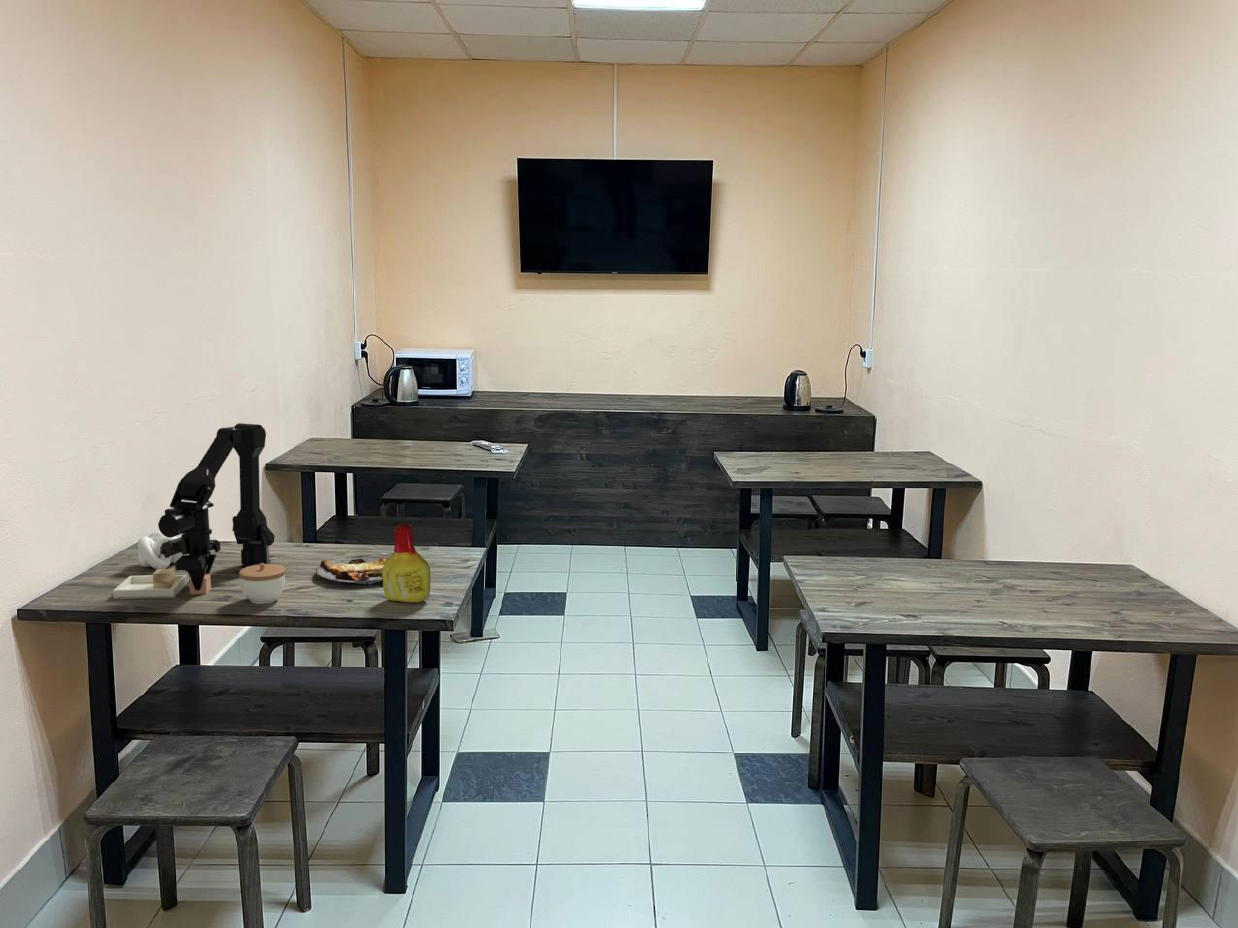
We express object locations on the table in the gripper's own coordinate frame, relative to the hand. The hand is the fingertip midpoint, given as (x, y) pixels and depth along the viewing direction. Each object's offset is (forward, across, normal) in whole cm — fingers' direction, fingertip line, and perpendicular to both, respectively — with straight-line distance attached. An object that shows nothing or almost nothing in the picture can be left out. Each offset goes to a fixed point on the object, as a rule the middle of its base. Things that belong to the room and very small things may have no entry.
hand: (200, 587), depth 244 cm
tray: (+1, -1, -12) cm, 12 cm away
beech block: (0, -3, -10) cm, 10 cm away
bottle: (+1, +11, +52) cm, 53 cm away
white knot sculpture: (+1, -22, -17) cm, 28 cm away
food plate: (+2, -12, +39) cm, 41 cm away
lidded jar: (+1, +8, +17) cm, 19 cm away
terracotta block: (+1, 0, 0) cm, 1 cm away
